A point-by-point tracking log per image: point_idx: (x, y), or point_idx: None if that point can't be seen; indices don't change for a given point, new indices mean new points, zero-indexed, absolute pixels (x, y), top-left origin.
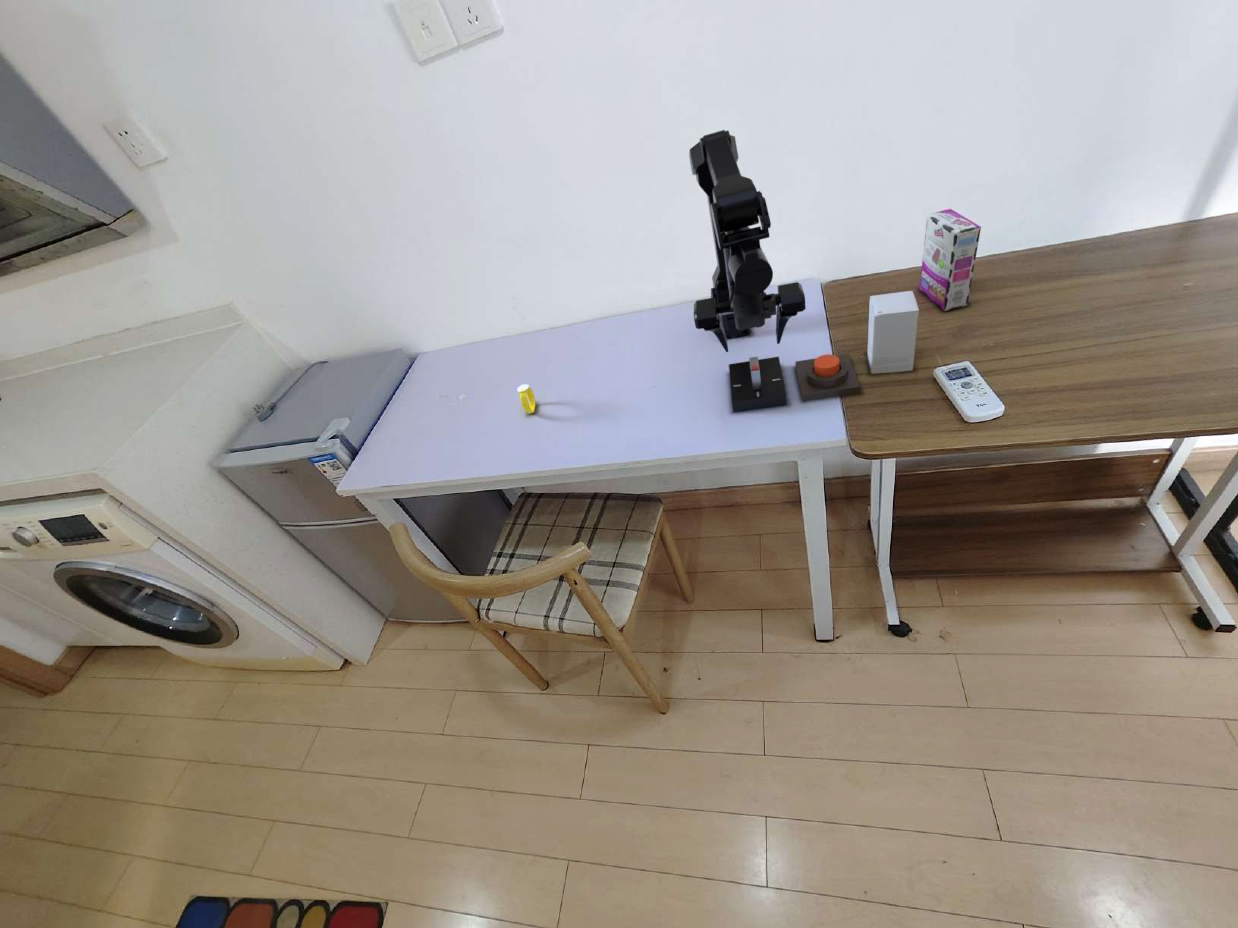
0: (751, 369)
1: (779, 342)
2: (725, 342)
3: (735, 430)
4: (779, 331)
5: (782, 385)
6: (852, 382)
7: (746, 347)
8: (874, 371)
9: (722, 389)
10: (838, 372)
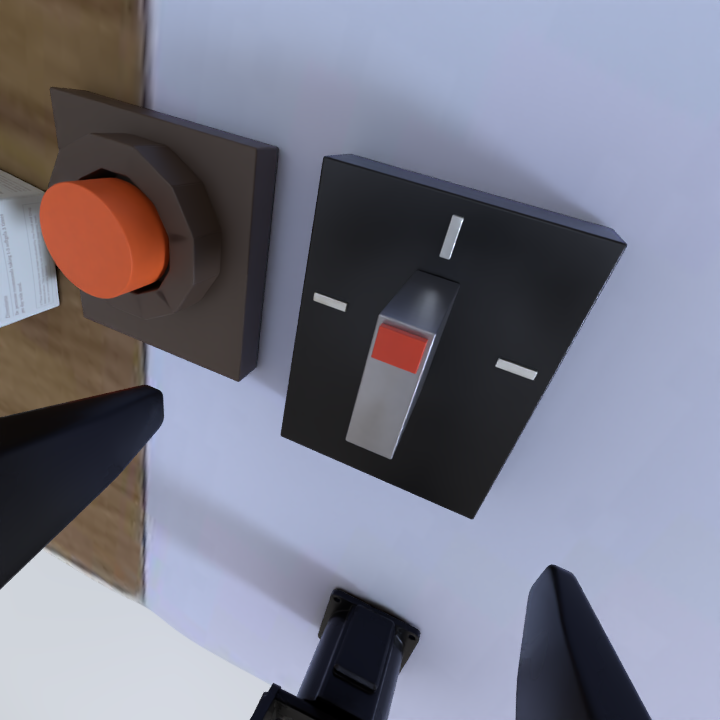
0: (423, 352)
1: (134, 387)
2: (596, 705)
3: (707, 43)
4: (5, 440)
5: (316, 245)
6: (73, 132)
7: (367, 554)
8: (30, 189)
9: (558, 423)
10: None
